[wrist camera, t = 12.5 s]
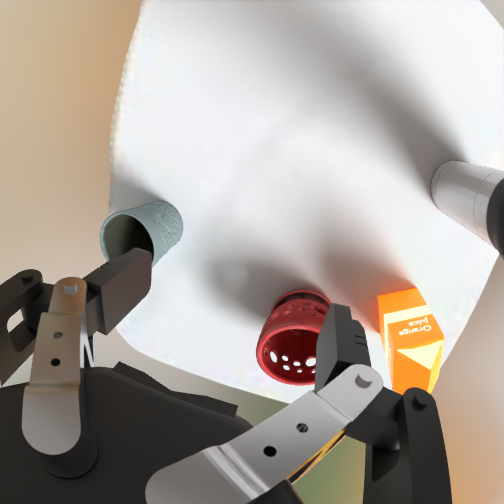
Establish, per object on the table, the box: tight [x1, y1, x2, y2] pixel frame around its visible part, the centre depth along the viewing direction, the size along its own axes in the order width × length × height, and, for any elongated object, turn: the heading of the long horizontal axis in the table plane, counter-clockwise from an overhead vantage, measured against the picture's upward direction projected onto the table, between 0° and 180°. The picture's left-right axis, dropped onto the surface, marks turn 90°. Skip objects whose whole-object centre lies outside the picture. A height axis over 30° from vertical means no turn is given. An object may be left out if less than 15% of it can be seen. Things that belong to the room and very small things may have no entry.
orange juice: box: [378, 288, 444, 395], centre depth 38 cm, size 8×9×20 cm
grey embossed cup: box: [100, 202, 183, 267], centre depth 44 cm, size 10×10×12 cm
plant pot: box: [256, 290, 332, 386], centre depth 45 cm, size 13×13×12 cm
